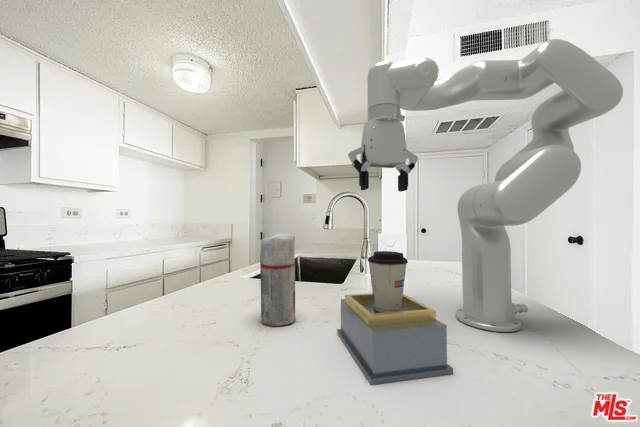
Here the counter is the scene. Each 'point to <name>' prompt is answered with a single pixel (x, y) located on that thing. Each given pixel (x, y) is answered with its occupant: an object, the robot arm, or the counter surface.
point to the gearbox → (394, 340)
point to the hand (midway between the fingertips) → (383, 190)
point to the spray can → (277, 280)
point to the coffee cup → (387, 280)
